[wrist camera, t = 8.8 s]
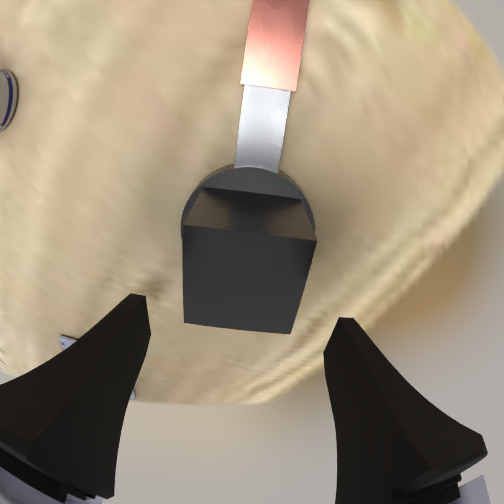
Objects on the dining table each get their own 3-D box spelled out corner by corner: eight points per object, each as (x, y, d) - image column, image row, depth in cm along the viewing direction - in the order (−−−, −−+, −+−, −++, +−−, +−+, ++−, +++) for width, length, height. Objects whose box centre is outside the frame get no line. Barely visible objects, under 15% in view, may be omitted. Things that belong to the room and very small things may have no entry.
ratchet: (296, 281, 20) (304, 325, 16) (185, 268, 20) (170, 310, 16) (349, 1, 11) (377, -24, 7) (212, -19, 10) (199, -52, 6)
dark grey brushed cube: (283, 277, 18) (290, 334, 14) (200, 268, 18) (184, 322, 14) (300, 199, 16) (317, 240, 11) (204, 187, 15) (182, 224, 11)
